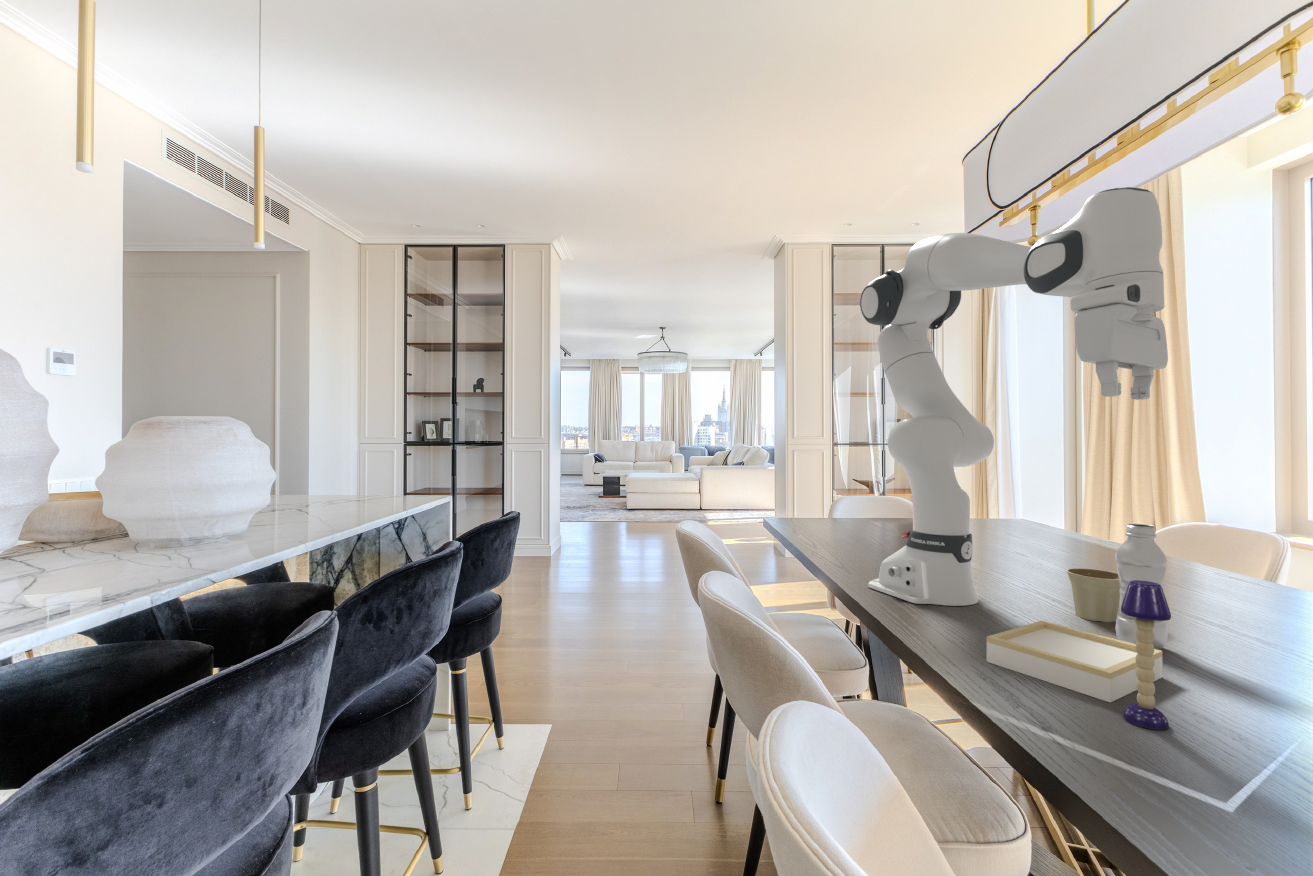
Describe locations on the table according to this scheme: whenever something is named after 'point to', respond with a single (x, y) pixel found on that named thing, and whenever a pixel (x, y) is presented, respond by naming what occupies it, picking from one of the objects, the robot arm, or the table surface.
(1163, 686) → the table surface
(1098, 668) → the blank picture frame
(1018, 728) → the table surface
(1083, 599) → the flower pot
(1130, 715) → the toy lamp
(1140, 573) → the plastic bottle
